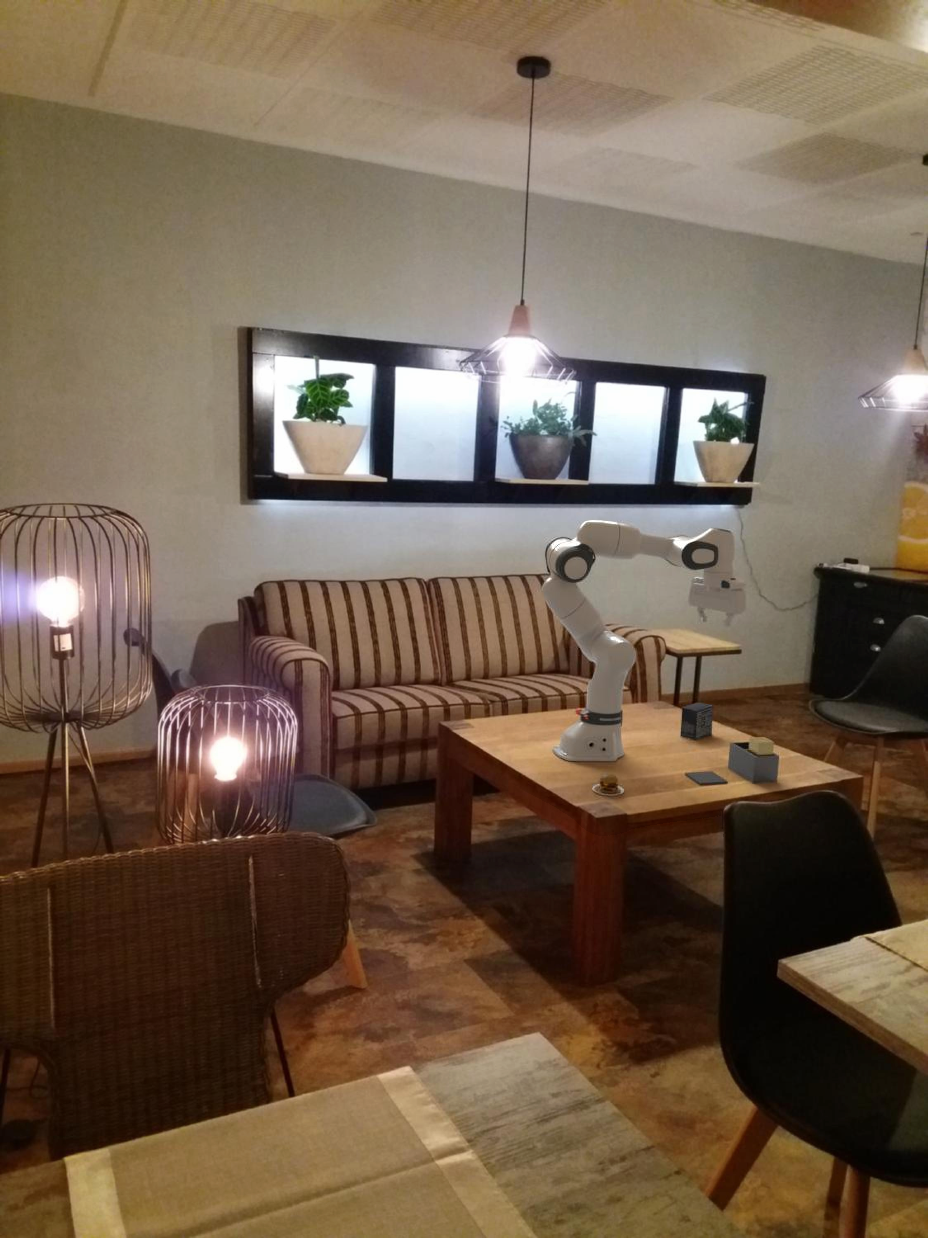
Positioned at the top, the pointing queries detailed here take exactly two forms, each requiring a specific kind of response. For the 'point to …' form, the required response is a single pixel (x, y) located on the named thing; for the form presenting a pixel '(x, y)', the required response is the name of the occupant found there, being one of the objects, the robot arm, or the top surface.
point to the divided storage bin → (752, 764)
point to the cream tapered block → (761, 746)
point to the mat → (706, 778)
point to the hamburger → (608, 785)
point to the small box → (696, 721)
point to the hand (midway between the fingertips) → (714, 624)
